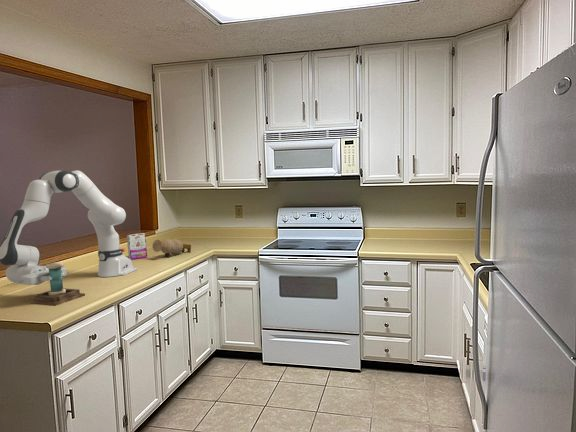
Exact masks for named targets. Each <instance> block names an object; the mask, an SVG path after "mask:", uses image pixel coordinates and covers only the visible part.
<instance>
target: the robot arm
mask: <svg viewBox="0 0 576 432" xmlns="http://www.w3.org/2000/svg"><path fill="white" fill-rule="evenodd" d="M67 192H72V193H73V194H74V195H75V197H76V198H77V199H78V200H79V202H81V204H82V205H83V206H84V207H85V208H87V209H88V211H87V219H88V220H89V221H90V222H91V224H92V225H93V228H94V231H95V234H96V237H97V244H98V245H97V246H98V251H97V254H98V255H97V256H98V258H99V259H98V270H97V277H100V278H108V277H109V278H111V277H117V276H125V275H128V274H130V273H132V272H135V271H137V270H138V267H135V266H133V260H130V259H129V257H127V256H125V254H123V253H125V252H126V251H127V250H126V248H121V247H120V246H121V245H120V235H119V233H118V232H117V231H116V230H115V227H114V226H118V225H121V224H123V223H124V222H125V220H126V218H127V213H126V211H125V209H124V208H123V207H121V206H119V205H118V204H115V203H114V202H113V201H112V200H111V199H109V197H107V196H105V195H104V193H103V192H101V190H100V189H99V188H98V187H97V186H96V184H95V183H94V182H93V181H92V180H91V179H90V178H89V177H88V176H87V175H86V174H85V173H84V172H83V171H81V170H78V169H77V170H72V171H70V170H67V169H66V170H65V169H64V170H52V171H47V172H44V173H43V174H42V175H40V176H39V178H38V179H34V180H32V181H31V182H29V184H28V187H27V189H26V193H25V195H24V198H23V199H24V200H23V202H22V205H21V207H20V208H19V209H17V210H16V211H15V212H14V213H13V215H12V217H11V219H10V222H9V225H8V227H7V230H6V232H5V235H4V237H3V240H2V242H1V244H0V264H2V266H8V267H7V268H6V270H5V277H6V278H7V280H8V281H10V282H12V283H14V284H22V285H26V286H38V285H41V284H43V283H45V282H47V281H48V282H50V280H53V277H52V276H49V269H47V268H46V264H45V265H40V261H41V253H40V250H39V249H38V248H37V247H36V246H32V245H27V244H26V245H24V244H18V240H19V237H20V235H21V233H22V229H23V228H24V226H25V225H26V224H27V225H28V224H29V223H32V222H33V223H34V222H37V221H40V220H42V219H44V218H45V217H47V215H48V213H49V210H50V205H51V199H52V196H53V194H54V193H57V194H58V193H59V194H60V193H67ZM67 271H68V269H67V267H64V266H63V267H61V272H62V278H64V277H65V276H67V275H68V272H67Z"/></svg>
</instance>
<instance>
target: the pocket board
mask: <svg viewBox="0 0 576 432" xmlns="http://www.w3.org/2000/svg"><path fill="white" fill-rule="evenodd" d="M63 289H66V293H65V294H62V295H58V296H49V293H48V292H49V291H51V289H50V290H47V291H44V292H41V293H37V294H35V295H34V297H33V298H34V299H31V300H29V304H37V305H48V306H58V305H62V304H64V302H65V303H67V301H68V302H70V301H73V300H76V299H80V298H82V297H85V293H84V292H81V291H80V289H78V288H65V287H63Z"/></svg>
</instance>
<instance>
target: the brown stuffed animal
mask: <svg viewBox="0 0 576 432" xmlns="http://www.w3.org/2000/svg"><path fill="white" fill-rule="evenodd" d="M152 250H153V251H154V252H155V253H158V252H162V253H163V254H164V258H170V257H171V255H177V254H181V253H185V250H187V253H191V252H192V245H191V243H190V244H188V243H183V242H182V241H181V240H180V239H174V238H173V239H170V238H164V239H162V240H159V239H156V240H154V241H153V243H152ZM170 254H171V255H170Z"/></svg>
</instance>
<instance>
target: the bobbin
mask: <svg viewBox="0 0 576 432" xmlns="http://www.w3.org/2000/svg"><path fill="white" fill-rule="evenodd" d="M45 265H46V268H47V269H49V276H52V277H53V280H50V281H49V287H50V290H51V291H50V290H48V291H49V292H48V293H49V296H58V295H62V294H65V293H66V289H67V288H66V289H63V288H64V287H63V286H64V285H63V277H62V272H61V267H64V262H62V261H61V262H60V261H59V262H58V261H56V262H49V263H45Z"/></svg>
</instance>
